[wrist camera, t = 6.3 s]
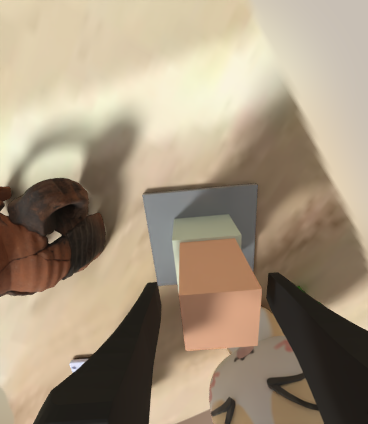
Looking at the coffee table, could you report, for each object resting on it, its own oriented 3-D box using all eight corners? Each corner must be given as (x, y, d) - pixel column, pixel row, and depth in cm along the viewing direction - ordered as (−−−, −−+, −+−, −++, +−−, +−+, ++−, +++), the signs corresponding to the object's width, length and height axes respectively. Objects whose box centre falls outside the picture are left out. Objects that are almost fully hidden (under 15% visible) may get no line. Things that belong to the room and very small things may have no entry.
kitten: (288, 256, 20) (542, 537, 6) (325, 313, 23) (551, 590, 9) (174, 320, 23) (163, 606, 9) (219, 363, 26) (264, 628, 12)
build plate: (251, 275, 21) (253, 278, 20) (158, 282, 21) (158, 285, 20) (255, 183, 17) (257, 184, 17) (143, 193, 17) (142, 195, 17)
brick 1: (228, 260, 19) (240, 289, 16) (179, 264, 19) (178, 294, 16) (228, 214, 18) (241, 234, 14) (173, 218, 18) (172, 240, 14)
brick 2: (234, 282, 15) (257, 345, 11) (184, 286, 15) (185, 351, 11) (234, 238, 14) (262, 289, 9) (179, 242, 14) (178, 295, 9)
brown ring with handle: (89, 279, 21) (-12, 335, 14) (46, 213, 23) (-63, 235, 16) (145, 213, 15) (18, 254, 8) (81, 130, 17) (-71, 106, 10)
